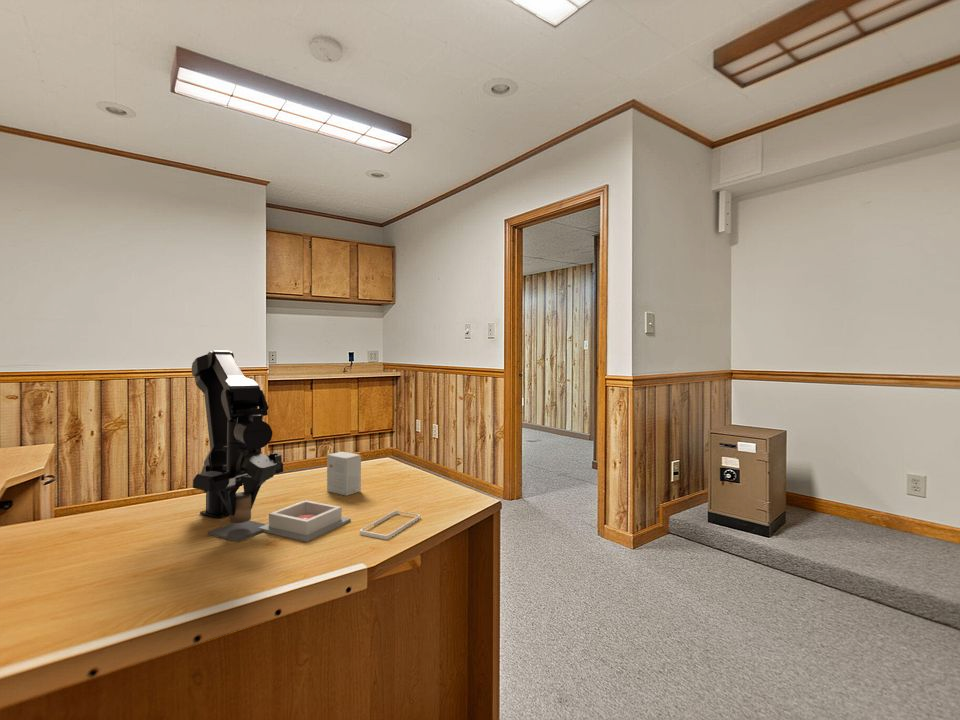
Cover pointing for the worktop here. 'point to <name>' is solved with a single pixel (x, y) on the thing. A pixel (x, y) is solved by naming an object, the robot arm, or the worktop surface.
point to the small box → (343, 473)
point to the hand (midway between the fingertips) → (240, 512)
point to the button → (306, 516)
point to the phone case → (391, 532)
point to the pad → (237, 530)
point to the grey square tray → (302, 529)
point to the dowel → (242, 508)
